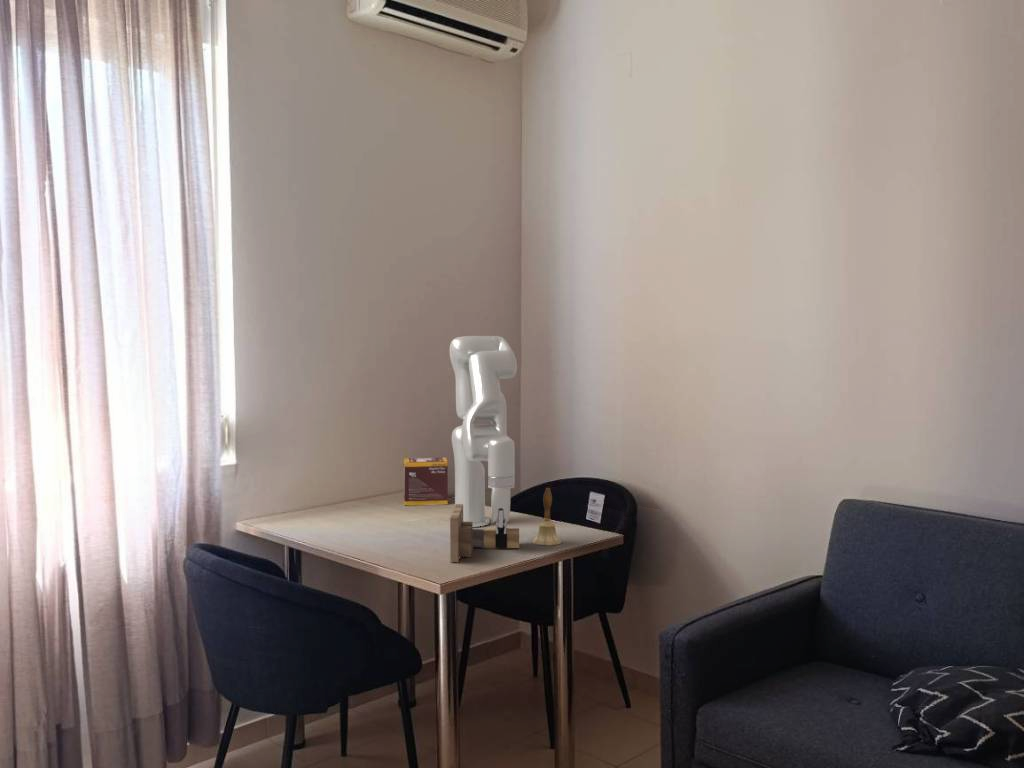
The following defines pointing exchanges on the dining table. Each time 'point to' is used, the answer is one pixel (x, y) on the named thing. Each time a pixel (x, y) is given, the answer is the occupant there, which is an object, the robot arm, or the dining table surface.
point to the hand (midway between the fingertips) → (501, 545)
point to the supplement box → (425, 481)
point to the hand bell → (547, 524)
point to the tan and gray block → (494, 537)
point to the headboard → (460, 535)
